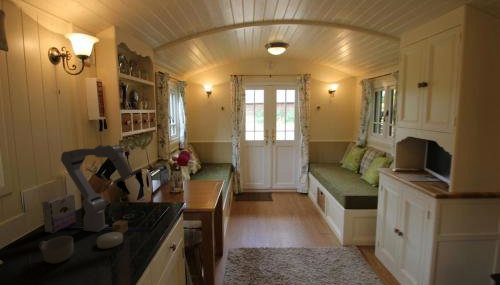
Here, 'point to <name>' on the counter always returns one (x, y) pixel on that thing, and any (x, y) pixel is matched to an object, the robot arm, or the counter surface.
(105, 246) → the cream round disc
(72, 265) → the counter surface
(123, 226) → the oak cube
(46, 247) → the teacup
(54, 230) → the candy box
